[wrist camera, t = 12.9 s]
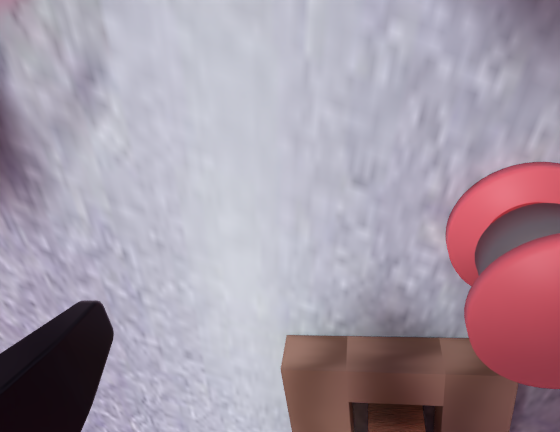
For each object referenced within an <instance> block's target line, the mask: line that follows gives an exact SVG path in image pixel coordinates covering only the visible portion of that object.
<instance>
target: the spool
mask: <svg viewBox="0 0 560 432" xmlns="http://www.w3.org/2000/svg"><path fill="white" fill-rule="evenodd" d="M446 244H447V249H448V253H449V257H450V260H451V263H452V265H453V267H454V269H455V270H456V272H457V273H458V274H459V276H460V277H461V278H462V279H463V280H464V281H465V282H466V283H467V284H469V285H470V286H472V287H471V289H470V291H469V293H468V296H467V299H466V303H465V308H464V318H465V323H466V328H467V332H468V336H469V340H470V343H471V345H472V348H473V350H474V352H475V353H476V355H477V356H478V358H479V359H480V360H481V361H482V362H483V363H484V364H485V365H486V366H487V367H489V368H490V369H491V370H492V371H494V372H496V373H497V374H499V375H501V376H503V377H505V378H507V379H509V380H512V381H514V382H517V383H520V384H524V385H528V386H533V387H539V388H549V389H560V164H559V163H551V162H532V163H523V164H519V165H514V166H510V167H507V168H504V169H501V170H499V171H497V172H494V173H492V174H490V175H488V176H487V177H485V178H483V179H481V180H480V181H479V182H477V183H476V184H474V185H473V186H472V187H471V188H470V189H469V190H467V191H466V192H465V193H464V194H463V196H462V197H461V198H460V199H459V200H458V202H457V203H456V205H455V206H454V208H453V210H452V212H451V214H450V216H449V219H448V222H447V226H446Z"/></svg>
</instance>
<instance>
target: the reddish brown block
mask: <svg viewBox="0 0 560 432" xmlns="http://www.w3.org/2000/svg"><path fill="white" fill-rule="evenodd" d="M368 432H426V431H425V422H424V414H423V405H405V404H381V403H368Z"/></svg>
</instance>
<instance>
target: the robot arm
mask: <svg viewBox="0 0 560 432" xmlns="http://www.w3.org/2000/svg"><path fill="white" fill-rule="evenodd" d="M113 336H114V332H113V327H112V325H111V323H110V320H109V318H108V315H107V313H106V311H105V308H104V306H103V304H102V303H101V302H100V301H80V302H78V303H76V304H75V305H73V306H72V307H70V308H69V309H67V310H66V311H64V312H63V313H61V314H60V315H58V316H57V317H55V318H54V319H52V320H51V321H49V322H48V323H46V324H45V325H43V326H42V327H40V328H38V329H37V330H35V331H34V332H32V333H31V334H29V335H28V336H26V337H25V338H23V339H22V340H20V341H19V342H17V343H16V344H14V345H13V346H11V347H10V348H8V349H7V350H5V351H4V352H2V353H1V354H0V432H81V430H82V428H83V425H84V423H85V421H86V419H87V416H88V414H89V411H90V409H91V406H92V403H93V401H94V398H95V395H96V392H97V389H98V385H99V382H100V379H101V376H102V373H103V370H104V367H105V363H106V360H107V357H108V354H109V351H110V348H111V344H112V341H113Z"/></svg>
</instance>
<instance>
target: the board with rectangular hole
mask: <svg viewBox="0 0 560 432" xmlns="http://www.w3.org/2000/svg"><path fill="white" fill-rule="evenodd" d="M281 374H282V379H283V385H284V390H285V396H286V401H287V406H288V412H289V417H290V423H291V428H292V432H355V429H354V416H353V403H352V402H357V403H381V404H405V405H429V406H435V414H434V430H433V432H509V430H510V425H511V420H512V414H513V409H514V404H515V399H516V394H517V389H518V383H517V382H514V381H512V380H509V379H507V378H505V377H503V376H501V375H499V374H497V373H496V372H494V371H492V370H491V369H490V368H489V367H487V366H486V365H485V364H484V363H483V362H482V361H481V360H480V359H479V358H478V356H477V355H476V353H475V352H474V350H473V348H472V345H471V343H470V340H469V338H423V337H362V336H300V335H287V337H286V343H285V348H284V354H283V359H282V365H281Z"/></svg>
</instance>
